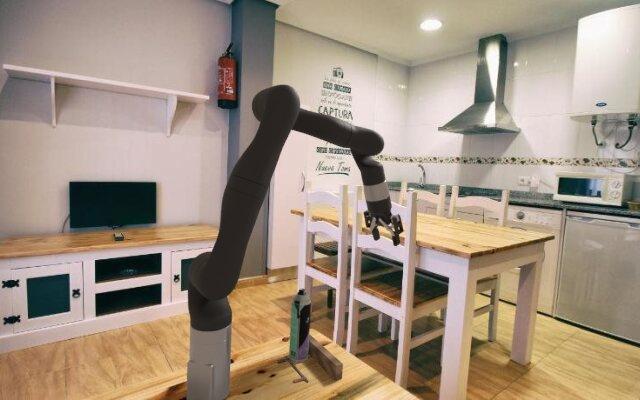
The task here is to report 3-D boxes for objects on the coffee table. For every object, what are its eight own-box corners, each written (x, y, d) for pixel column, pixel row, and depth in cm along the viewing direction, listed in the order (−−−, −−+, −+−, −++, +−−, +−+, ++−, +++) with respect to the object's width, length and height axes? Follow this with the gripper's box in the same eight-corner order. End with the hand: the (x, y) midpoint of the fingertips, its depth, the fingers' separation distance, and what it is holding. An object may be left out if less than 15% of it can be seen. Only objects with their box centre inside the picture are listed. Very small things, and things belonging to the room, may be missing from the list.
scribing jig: (342, 378, 91) (342, 363, 91) (301, 391, 85) (302, 375, 84) (308, 346, 106) (309, 333, 106) (271, 355, 100) (272, 342, 100)
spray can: (307, 363, 97) (311, 293, 95) (287, 361, 97) (291, 292, 95) (308, 352, 103) (312, 286, 101) (290, 351, 103) (293, 285, 101)
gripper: (353, 197, 112) (363, 242, 117) (385, 202, 100) (395, 252, 105) (369, 189, 116) (379, 233, 120) (403, 193, 104) (411, 241, 109)
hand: (386, 242), depth 113 cm, fingers open, 8 cm apart
